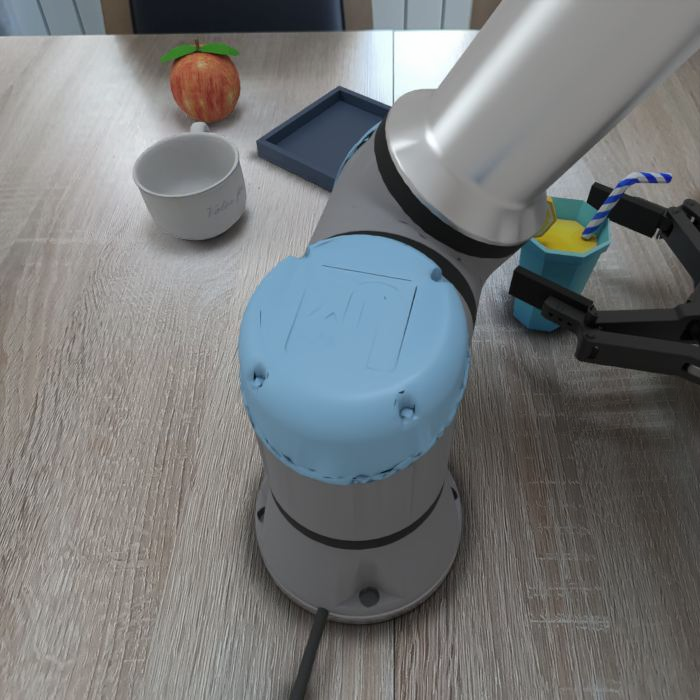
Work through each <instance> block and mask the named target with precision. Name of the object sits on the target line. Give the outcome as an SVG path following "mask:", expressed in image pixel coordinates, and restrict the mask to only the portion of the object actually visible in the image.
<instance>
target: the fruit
mask: <svg viewBox="0 0 700 700" xmlns="http://www.w3.org/2000/svg"><path fill="white" fill-rule="evenodd" d="M193 40H194V44H193V45H192V44H181V45H178V46H175V47H173V48H172V49H170V50H169V51H168V52H167V53H165V54H164V55H163V56H162V57H161V58H160V59H159V60H160V61H159V62H160V63H162V64H163V63H166V62H168V61H171V60H173V61H172V65H171V69H170V73H169V87H170V92H171V94H172V97H173V100H174V102H175V104H176V105H177V106H178V108H179V109H180V110H182V112H183V113H184V114H185V115H187V116H188V117H190V118H191V119H192V120H195V121H196V122H204V123H206V124H207V123H208V124H210V123H215V122H220V121H222V120H223V119H225V118H226V117H228V116H230V115H231V114H232V113H233V111H234V110H235V108H236V107H237V104H238V102H239V99H240V96H241V90H242V88H241V79H240V75H239V74H240V73H239V72H238V70H237V67H236V65H235V63H234V61H233V60H232V59H231V57H230V56H233V57H237V56H240V51H239V50H238V49H235V48H234V47H232V46H230V45H228V44H226V43H221V42H208V43H199V38H198V37H194V38H193Z"/></svg>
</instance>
